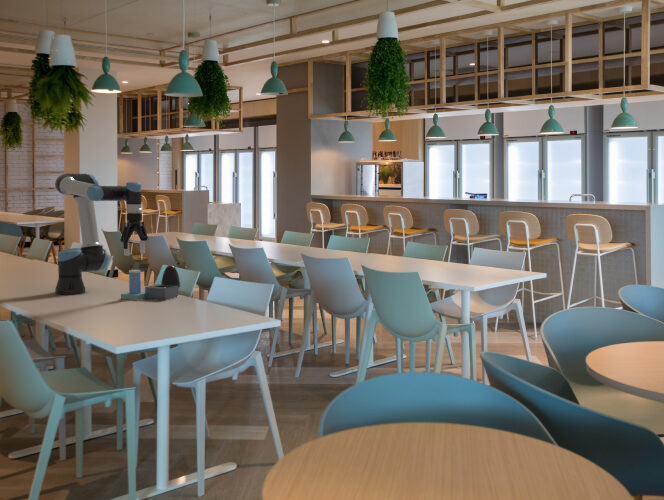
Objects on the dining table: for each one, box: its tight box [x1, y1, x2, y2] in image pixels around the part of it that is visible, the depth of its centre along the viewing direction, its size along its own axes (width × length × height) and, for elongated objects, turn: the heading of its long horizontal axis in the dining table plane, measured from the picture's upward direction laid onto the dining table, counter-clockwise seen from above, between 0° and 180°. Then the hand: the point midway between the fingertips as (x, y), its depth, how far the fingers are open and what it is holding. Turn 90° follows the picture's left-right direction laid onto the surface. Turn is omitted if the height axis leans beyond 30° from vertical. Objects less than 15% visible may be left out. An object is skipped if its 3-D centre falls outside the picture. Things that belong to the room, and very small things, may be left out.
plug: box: [128, 269, 142, 294], centre depth 354 cm, size 4×4×14 cm
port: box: [144, 283, 179, 301], centre depth 357 cm, size 12×12×6 cm
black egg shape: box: [160, 265, 181, 292], centre depth 372 cm, size 10×10×15 cm
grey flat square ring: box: [120, 291, 145, 301], centre depth 355 cm, size 10×10×2 cm
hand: (134, 254), depth 353 cm, fingers open, 13 cm apart
